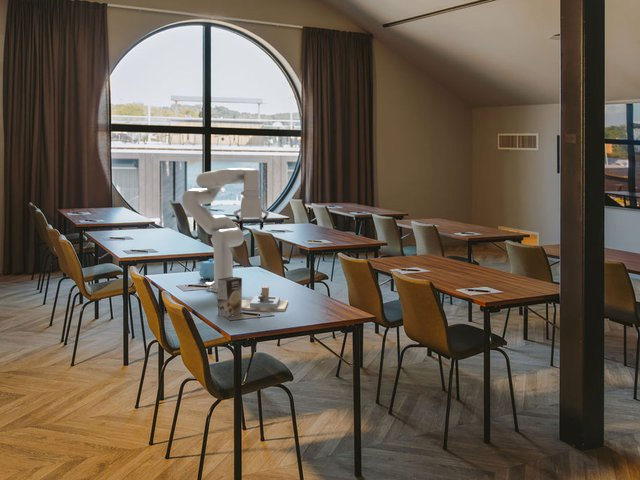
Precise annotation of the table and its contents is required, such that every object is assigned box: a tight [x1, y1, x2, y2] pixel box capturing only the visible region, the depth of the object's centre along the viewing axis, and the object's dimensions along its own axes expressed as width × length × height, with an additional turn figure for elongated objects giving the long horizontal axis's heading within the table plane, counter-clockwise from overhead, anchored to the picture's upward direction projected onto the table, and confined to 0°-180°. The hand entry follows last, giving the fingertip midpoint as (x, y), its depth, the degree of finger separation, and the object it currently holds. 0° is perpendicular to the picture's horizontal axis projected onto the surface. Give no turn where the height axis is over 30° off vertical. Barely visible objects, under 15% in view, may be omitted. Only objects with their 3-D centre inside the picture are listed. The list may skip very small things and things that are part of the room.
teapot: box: [198, 258, 214, 281], centre depth 394 cm, size 15×14×11 cm
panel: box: [250, 285, 281, 308], centre depth 325 cm, size 12×16×8 cm
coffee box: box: [217, 276, 243, 318], centre depth 308 cm, size 9×6×16 cm
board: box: [242, 292, 289, 312], centre depth 325 cm, size 22×18×6 cm
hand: (251, 229), depth 346 cm, fingers open, 9 cm apart
